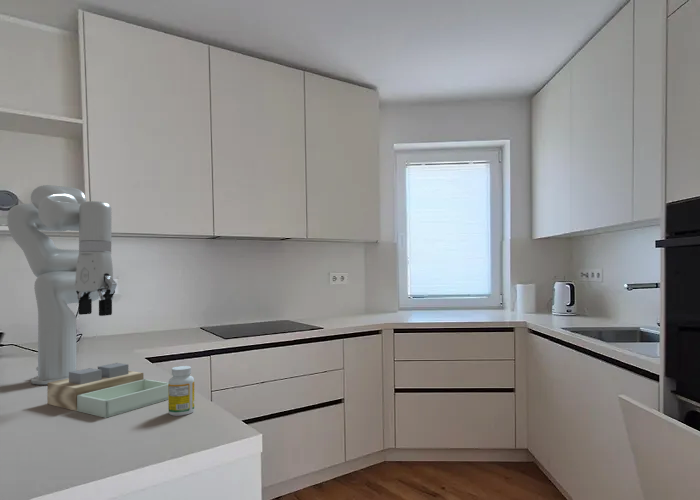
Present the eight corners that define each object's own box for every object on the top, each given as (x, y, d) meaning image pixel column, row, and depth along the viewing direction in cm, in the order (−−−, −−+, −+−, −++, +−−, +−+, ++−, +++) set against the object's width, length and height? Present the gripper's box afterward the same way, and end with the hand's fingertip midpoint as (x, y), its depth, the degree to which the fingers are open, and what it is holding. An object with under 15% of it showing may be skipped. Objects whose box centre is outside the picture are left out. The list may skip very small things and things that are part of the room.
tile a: (97, 376, 116) (97, 366, 116) (116, 372, 120) (116, 362, 120) (109, 378, 113) (109, 368, 113) (128, 373, 118) (128, 364, 118)
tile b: (68, 382, 110) (68, 372, 110) (89, 377, 114) (89, 368, 114) (80, 384, 107) (80, 374, 107) (101, 379, 112) (101, 369, 112)
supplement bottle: (181, 417, 97) (181, 371, 97) (162, 414, 99) (162, 369, 100) (200, 410, 102) (199, 366, 102) (181, 407, 104) (181, 364, 104)
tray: (77, 411, 103) (77, 395, 103) (145, 392, 118) (144, 379, 118) (105, 417, 98) (105, 401, 98) (173, 397, 112) (173, 383, 113)
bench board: (47, 404, 110) (47, 382, 110) (115, 387, 124) (115, 368, 125) (75, 410, 104) (75, 388, 104) (143, 392, 118) (143, 372, 118)
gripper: (62, 249, 123) (62, 314, 123) (100, 246, 115) (100, 317, 114) (90, 250, 130) (90, 312, 129) (128, 247, 121) (128, 314, 120)
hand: (95, 314), depth 121 cm, fingers open, 8 cm apart
